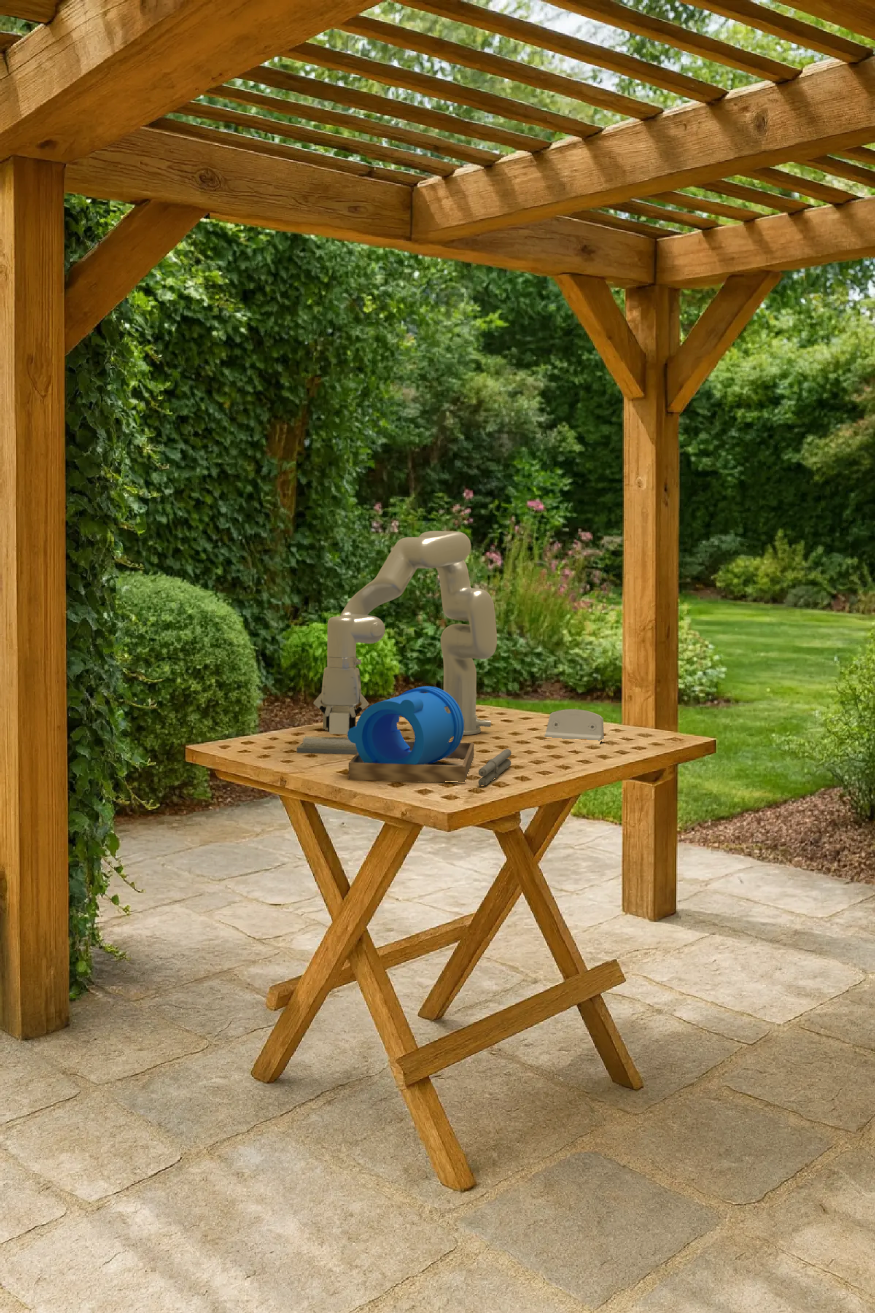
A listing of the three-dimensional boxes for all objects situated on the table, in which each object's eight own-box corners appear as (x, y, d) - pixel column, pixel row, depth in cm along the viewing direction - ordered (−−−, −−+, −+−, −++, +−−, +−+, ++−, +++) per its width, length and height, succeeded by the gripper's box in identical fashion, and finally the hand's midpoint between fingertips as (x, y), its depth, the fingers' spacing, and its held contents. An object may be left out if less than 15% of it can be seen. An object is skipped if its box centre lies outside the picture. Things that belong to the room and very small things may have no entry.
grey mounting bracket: (542, 740, 341) (546, 706, 344) (546, 743, 346) (550, 709, 348) (601, 744, 336) (604, 709, 338) (604, 747, 340) (607, 713, 342)
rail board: (384, 748, 327) (384, 736, 326) (379, 754, 317) (379, 742, 317) (304, 745, 329) (304, 734, 328) (296, 752, 319) (296, 740, 319)
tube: (437, 780, 310) (378, 736, 315) (480, 710, 304) (419, 667, 309) (398, 799, 287) (335, 752, 292) (443, 724, 281) (378, 678, 286)
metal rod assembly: (501, 767, 304) (502, 747, 303) (512, 767, 303) (512, 748, 303) (475, 788, 279) (476, 766, 279) (487, 789, 279) (487, 767, 278)
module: (351, 730, 325) (352, 710, 325) (348, 734, 319) (348, 714, 318) (333, 729, 326) (333, 709, 325) (329, 733, 319) (329, 713, 319)
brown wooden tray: (473, 757, 314) (473, 742, 314) (465, 783, 283) (465, 766, 283) (368, 754, 317) (368, 739, 317) (348, 779, 286) (348, 763, 285)
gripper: (375, 662, 323) (374, 729, 325) (312, 660, 325) (312, 727, 327) (371, 665, 316) (370, 734, 318) (306, 663, 317) (306, 732, 319)
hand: (340, 730), depth 322 cm, fingers closed on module, 5 cm apart
